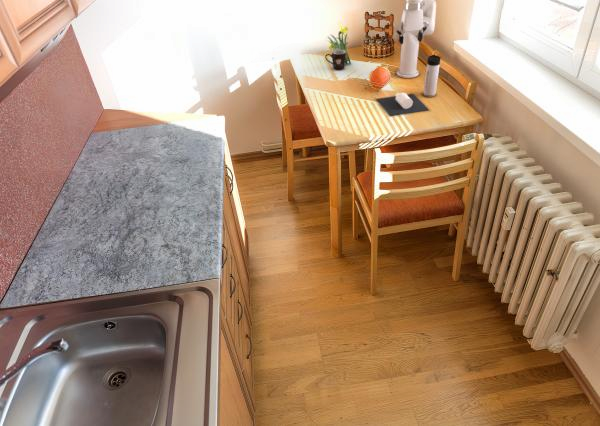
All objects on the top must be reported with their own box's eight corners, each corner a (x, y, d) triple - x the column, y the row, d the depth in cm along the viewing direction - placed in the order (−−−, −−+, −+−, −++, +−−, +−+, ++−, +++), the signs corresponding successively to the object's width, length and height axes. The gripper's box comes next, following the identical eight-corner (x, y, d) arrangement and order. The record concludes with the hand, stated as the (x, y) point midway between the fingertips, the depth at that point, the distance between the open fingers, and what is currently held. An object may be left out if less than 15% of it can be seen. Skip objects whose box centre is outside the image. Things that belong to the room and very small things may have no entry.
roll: (402, 98, 234) (403, 88, 230) (412, 107, 224) (413, 97, 221) (392, 100, 233) (392, 89, 229) (401, 109, 224) (402, 99, 220)
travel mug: (434, 91, 239) (439, 54, 226) (436, 97, 234) (441, 59, 221) (422, 92, 239) (427, 54, 227) (424, 97, 234) (428, 59, 222)
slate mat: (376, 99, 235) (376, 98, 235) (412, 94, 238) (412, 93, 238) (390, 115, 220) (390, 115, 220) (428, 110, 222) (428, 109, 222)
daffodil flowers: (327, 68, 276) (320, 36, 296) (346, 77, 283) (338, 45, 303) (343, 46, 265) (334, 14, 285) (362, 56, 272) (352, 24, 292)
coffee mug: (348, 67, 274) (348, 50, 268) (341, 71, 268) (341, 55, 262) (331, 64, 279) (331, 48, 273) (324, 69, 273) (324, 52, 267)
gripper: (427, 2, 218) (423, 37, 229) (393, 6, 216) (391, 42, 227) (434, 6, 213) (429, 42, 223) (399, 10, 211) (396, 46, 221)
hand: (410, 42), depth 225 cm, fingers open, 9 cm apart
